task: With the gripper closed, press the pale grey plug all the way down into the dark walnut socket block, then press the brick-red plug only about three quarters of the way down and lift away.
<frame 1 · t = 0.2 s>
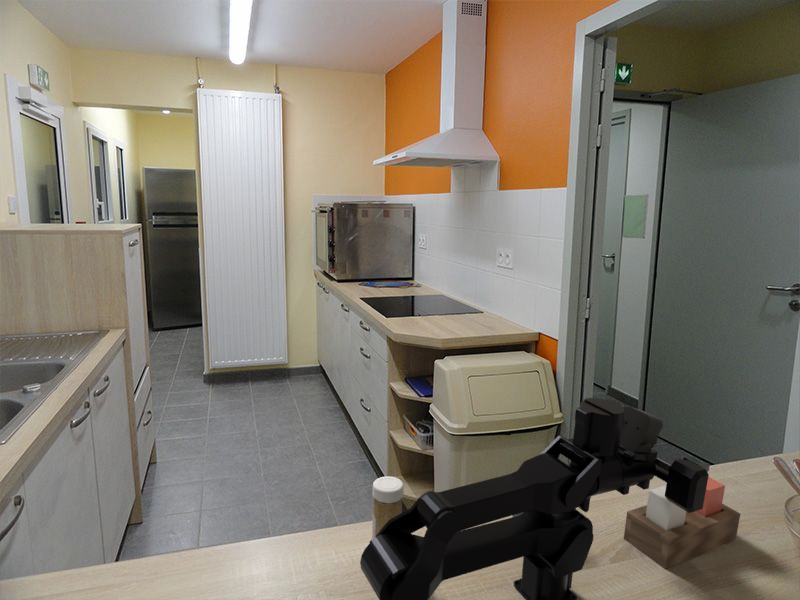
hand: (681, 452, 85), 17 cm above the countertop, tool horizontal, fingers open, 9 cm apart
socket block: (679, 539, 91), on the countertop
red plug: (703, 495, 91), point 7 cm above the countertop, slide at 0.0 cm
sprinkles bottle: (386, 564, 83), on the countertop
pill bottle: (526, 526, 94), on the countertop
grey plug: (666, 507, 88), point 7 cm above the countertop, slide at 0.0 cm
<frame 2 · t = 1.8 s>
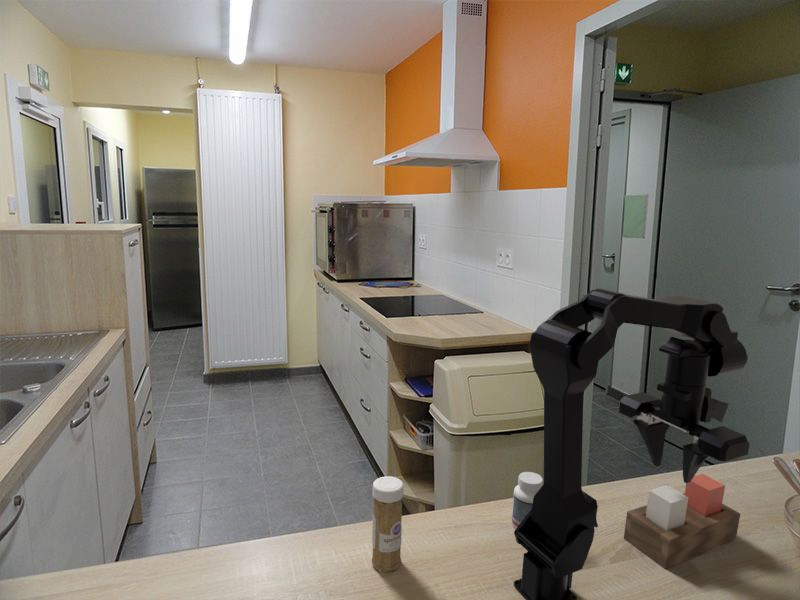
hand: (671, 473, 86), 13 cm above the countertop, tool pointing down, fingers open, 5 cm apart
nothing on the countertop moved.
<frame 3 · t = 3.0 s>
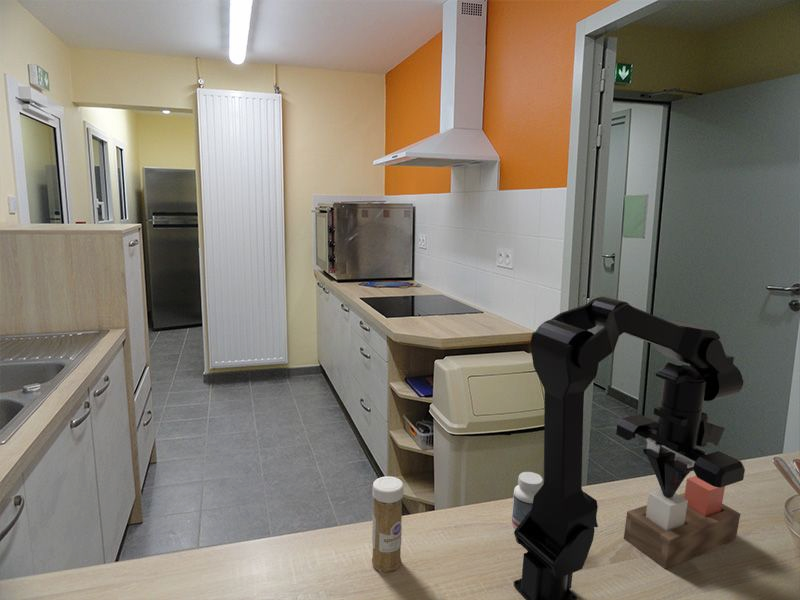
hand: (668, 496, 87), 9 cm above the countertop, tool pointing down, fingers closed, pressing on grey plug
grey plug: (666, 510, 88), point 7 cm above the countertop, slide at 0.5 cm, touching gripper
everything else where it was.
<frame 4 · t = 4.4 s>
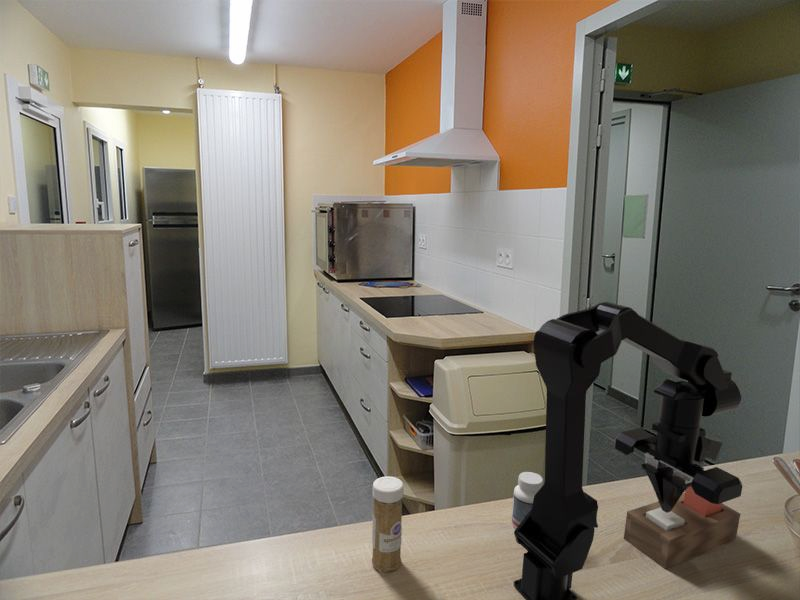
hand: (666, 511, 88), 6 cm above the countertop, tool pointing down, fingers closed
grey plug: (663, 529, 88), point 3 cm above the countertop, slide at 3.9 cm
everything else where it was.
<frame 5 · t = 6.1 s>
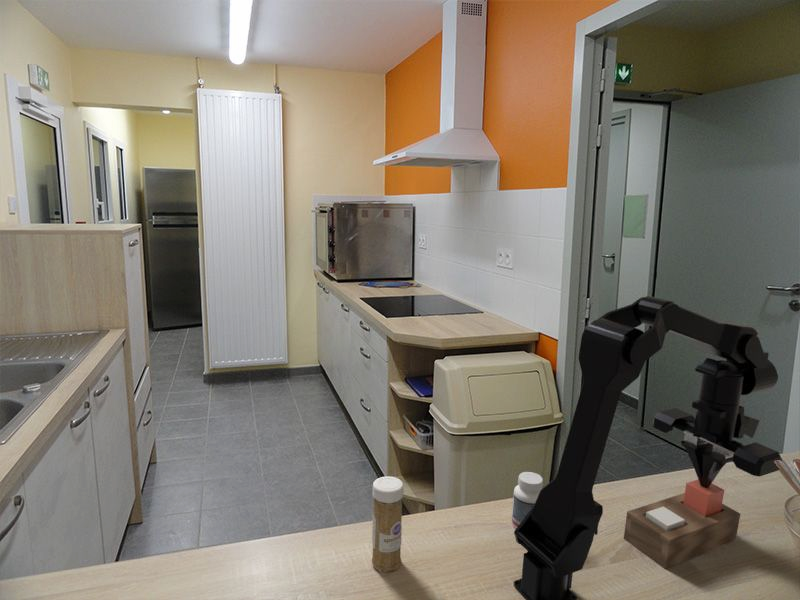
hand: (704, 486, 91), 9 cm above the countertop, tool pointing down, fingers closed, pressing on red plug
red plug: (703, 499, 92), point 6 cm above the countertop, slide at 0.8 cm, touching gripper
everything else where it was.
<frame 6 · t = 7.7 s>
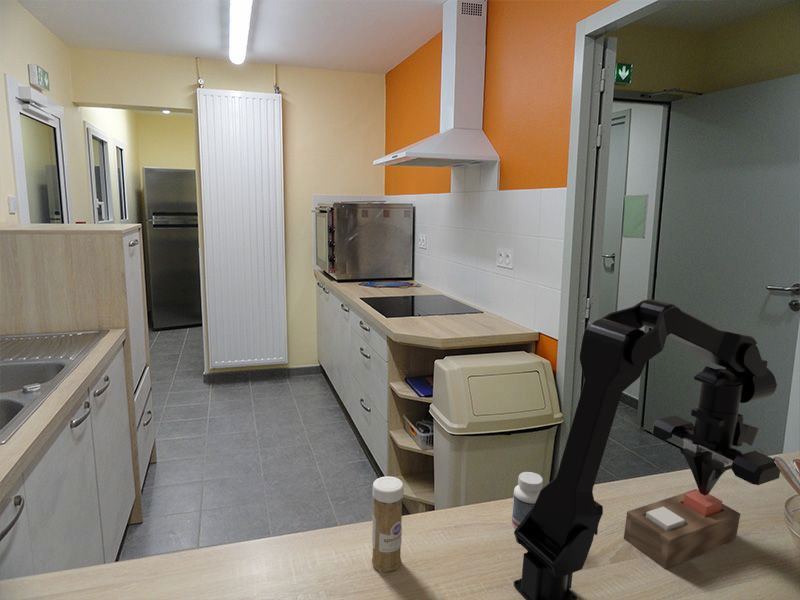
hand: (704, 493, 91), 7 cm above the countertop, tool pointing down, fingers closed
red plug: (701, 511, 92), point 4 cm above the countertop, slide at 2.9 cm
everything else where it was.
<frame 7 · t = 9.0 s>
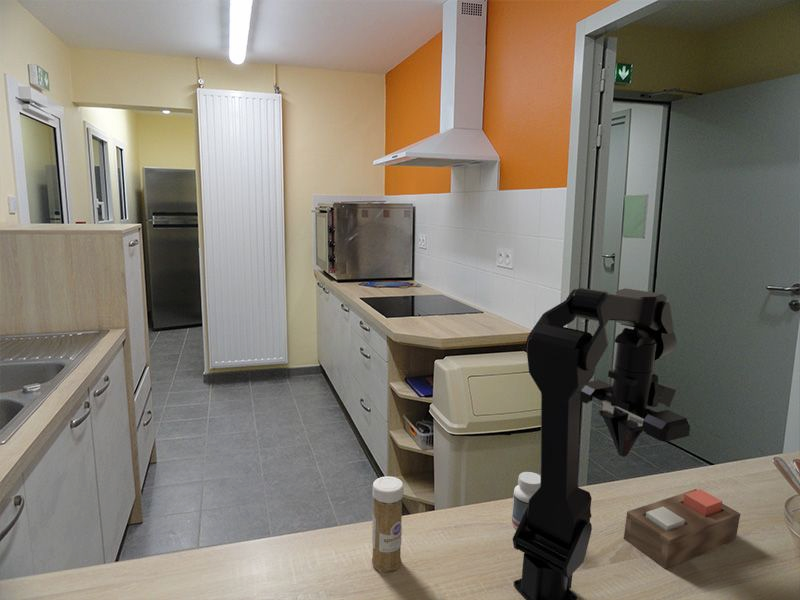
hand: (622, 455, 92), 13 cm above the countertop, tool pointing down, fingers closed
nothing on the countertop moved.
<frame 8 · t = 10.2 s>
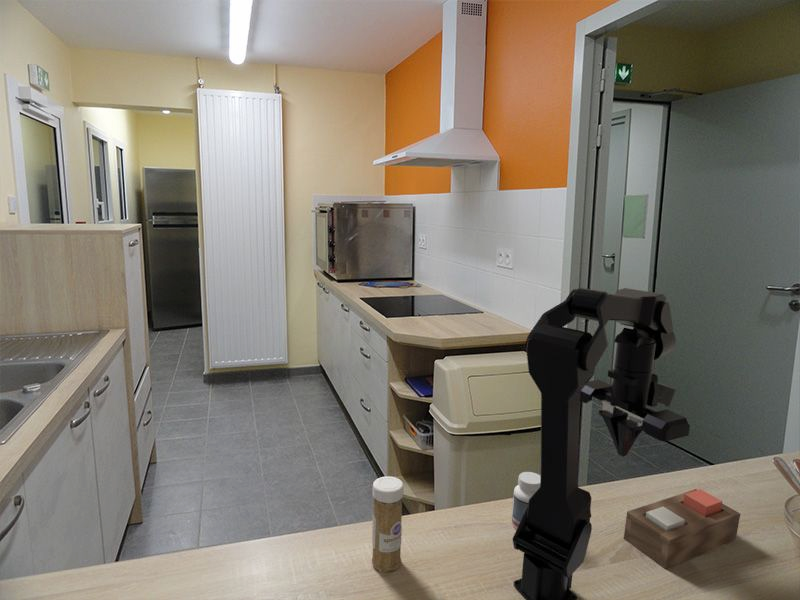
hand: (622, 455, 92), 13 cm above the countertop, tool pointing down, fingers closed
nothing on the countertop moved.
at the end: grey plug slide at 3.9 cm; red plug slide at 2.9 cm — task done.
